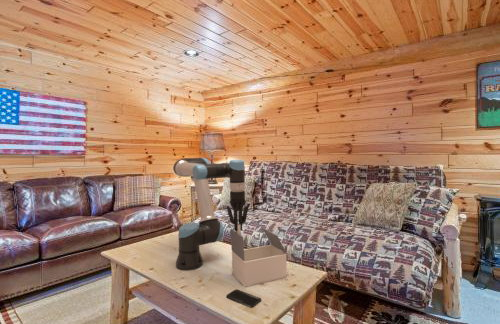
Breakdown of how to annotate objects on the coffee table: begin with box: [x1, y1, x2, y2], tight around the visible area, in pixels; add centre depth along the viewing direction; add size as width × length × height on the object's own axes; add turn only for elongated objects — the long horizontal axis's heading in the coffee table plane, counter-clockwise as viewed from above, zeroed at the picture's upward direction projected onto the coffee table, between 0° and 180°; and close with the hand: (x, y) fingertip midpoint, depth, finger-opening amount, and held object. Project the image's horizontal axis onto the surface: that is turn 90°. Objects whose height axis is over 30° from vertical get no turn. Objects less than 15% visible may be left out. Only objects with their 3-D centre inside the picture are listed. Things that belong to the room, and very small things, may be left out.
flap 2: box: [261, 227, 287, 254], centre depth 154 cm, size 16×12×1 cm
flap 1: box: [229, 228, 245, 261], centre depth 145 cm, size 16×12×1 cm
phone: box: [225, 288, 262, 309], centre depth 128 cm, size 8×1×15 cm
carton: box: [231, 244, 287, 288], centre depth 151 cm, size 16×24×12 cm, turn 115°
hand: (238, 236), depth 145 cm, fingers closed
